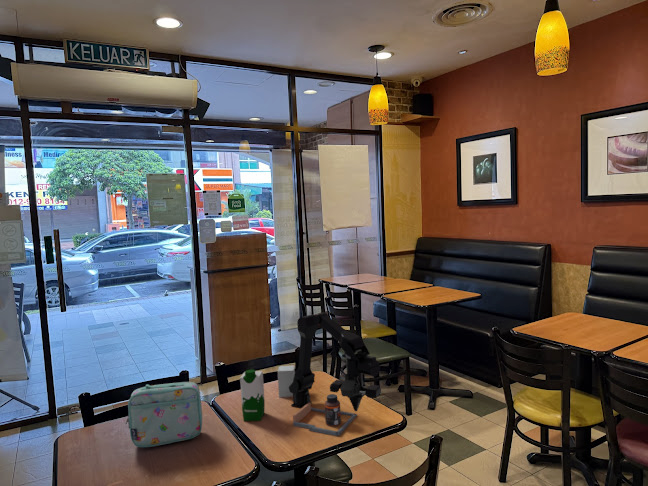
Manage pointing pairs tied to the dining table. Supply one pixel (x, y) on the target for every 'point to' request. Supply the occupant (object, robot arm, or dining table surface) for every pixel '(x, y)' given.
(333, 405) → the supplement bottle
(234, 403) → the dining table surface
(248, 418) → the milk carton
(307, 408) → the grey flat frame
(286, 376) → the supplement box
